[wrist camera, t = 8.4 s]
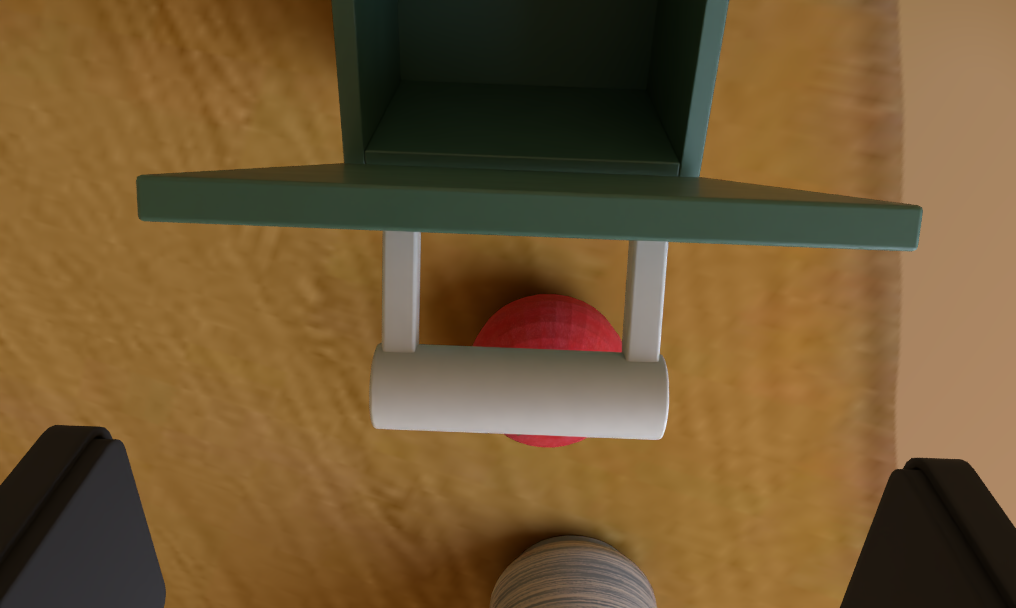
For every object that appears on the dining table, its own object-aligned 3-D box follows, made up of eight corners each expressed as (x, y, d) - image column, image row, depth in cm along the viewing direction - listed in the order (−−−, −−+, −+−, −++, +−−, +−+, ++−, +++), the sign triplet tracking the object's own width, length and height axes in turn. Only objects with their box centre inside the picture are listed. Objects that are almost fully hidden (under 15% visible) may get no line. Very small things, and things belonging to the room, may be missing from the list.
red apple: (631, 275, 44) (650, 355, 37) (609, 398, 49) (622, 490, 42) (476, 263, 44) (466, 342, 37) (469, 388, 49) (459, 478, 42)
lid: (133, 175, 13) (148, 460, 14) (925, 205, 13) (886, 489, 14) (341, 162, 30) (342, 298, 30) (701, 177, 29) (690, 312, 30)
